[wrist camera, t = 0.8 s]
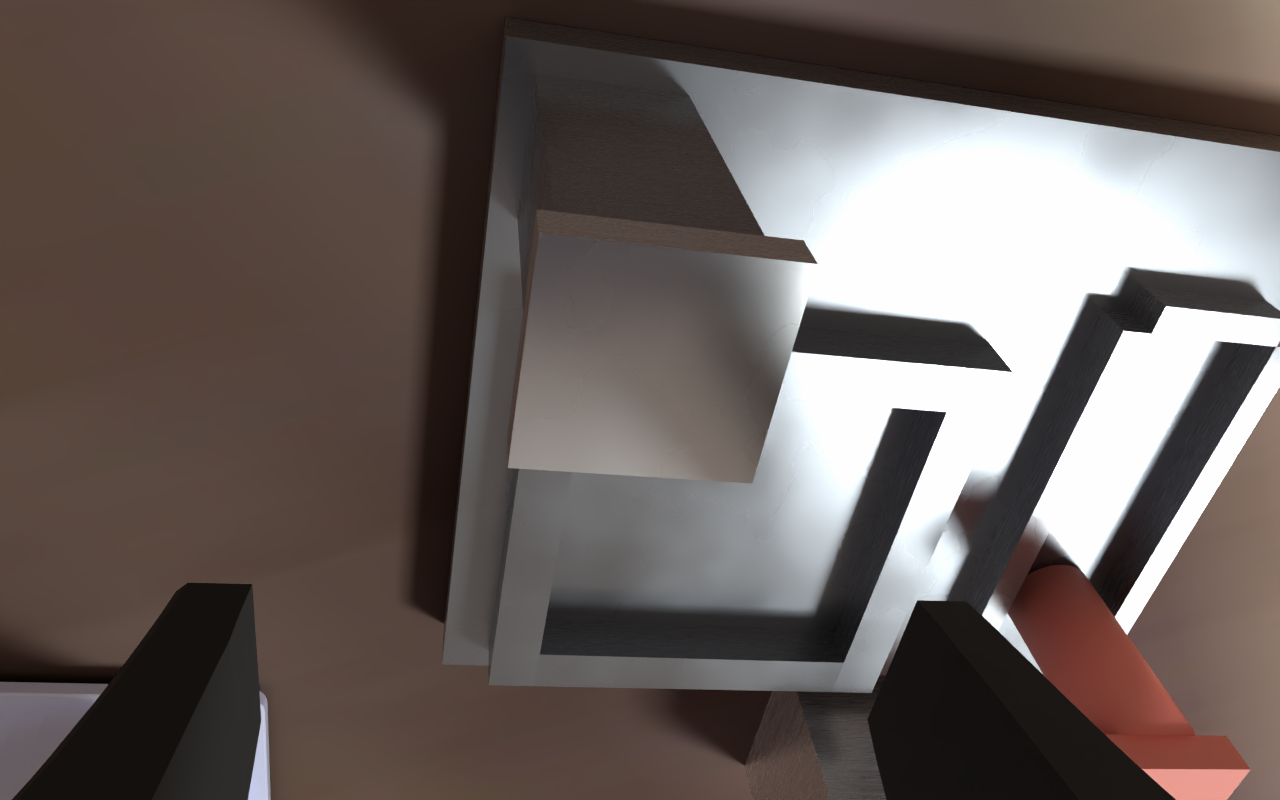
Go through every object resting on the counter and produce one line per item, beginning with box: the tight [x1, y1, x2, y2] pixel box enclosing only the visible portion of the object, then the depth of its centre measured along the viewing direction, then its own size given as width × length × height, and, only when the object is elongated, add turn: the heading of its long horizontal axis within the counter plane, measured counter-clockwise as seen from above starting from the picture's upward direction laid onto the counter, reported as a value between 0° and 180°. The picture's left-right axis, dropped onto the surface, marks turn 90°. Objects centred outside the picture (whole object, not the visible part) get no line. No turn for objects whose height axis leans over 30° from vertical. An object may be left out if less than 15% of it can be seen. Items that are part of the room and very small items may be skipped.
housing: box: [745, 675, 886, 800], centre depth 26 cm, size 4×4×5 cm
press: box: [442, 17, 1280, 693], centre depth 19 cm, size 14×16×8 cm
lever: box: [1008, 565, 1250, 800], centre depth 22 cm, size 2×3×5 cm, turn 80°
